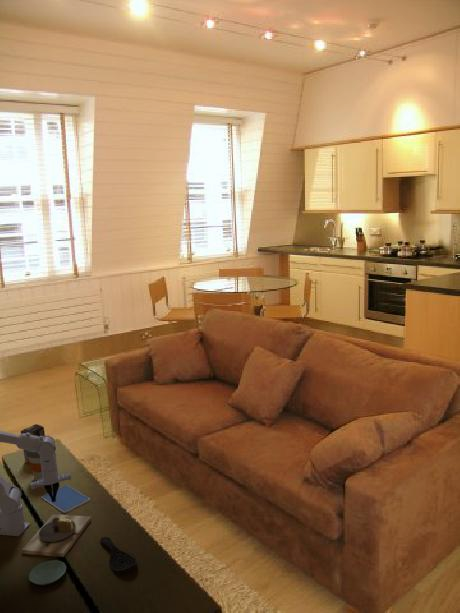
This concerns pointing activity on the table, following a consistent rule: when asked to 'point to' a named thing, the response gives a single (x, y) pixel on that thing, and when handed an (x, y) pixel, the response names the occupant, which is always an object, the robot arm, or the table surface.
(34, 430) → the coffee box
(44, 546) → the dial board
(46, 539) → the dial
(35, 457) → the reusable coffee cup
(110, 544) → the hairbrush
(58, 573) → the saucer
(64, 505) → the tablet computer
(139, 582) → the table surface
